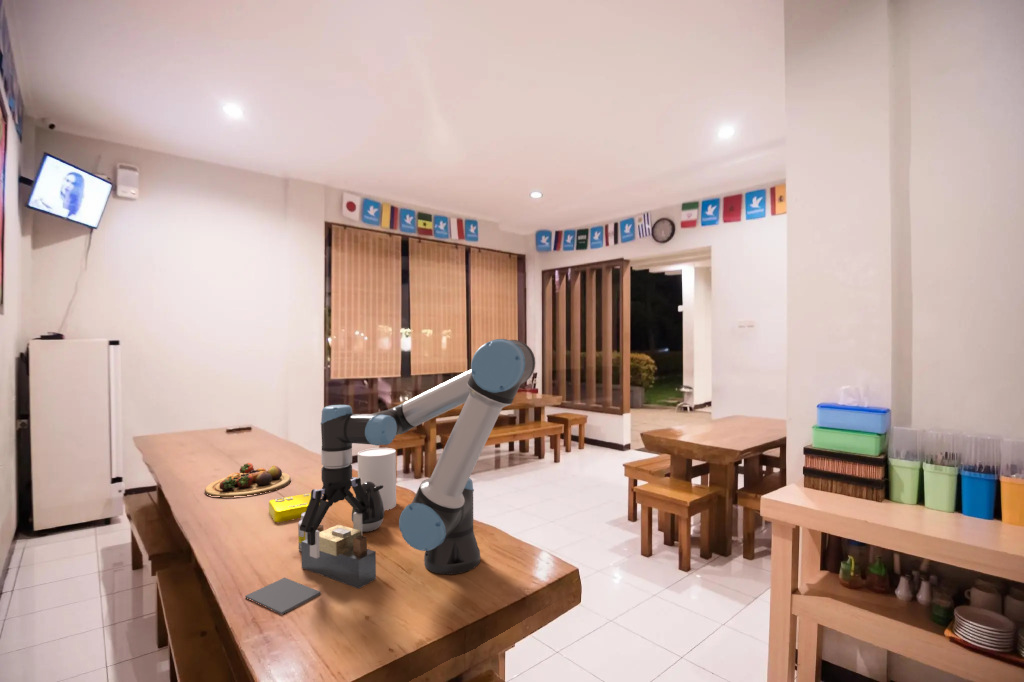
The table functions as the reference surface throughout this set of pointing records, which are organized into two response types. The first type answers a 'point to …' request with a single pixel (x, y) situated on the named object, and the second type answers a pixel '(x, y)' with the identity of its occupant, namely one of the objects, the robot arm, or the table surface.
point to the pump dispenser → (372, 507)
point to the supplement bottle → (301, 533)
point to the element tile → (289, 507)
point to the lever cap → (337, 539)
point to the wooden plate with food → (249, 482)
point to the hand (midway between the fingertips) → (337, 546)
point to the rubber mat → (283, 595)
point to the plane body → (343, 563)
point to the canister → (379, 472)
